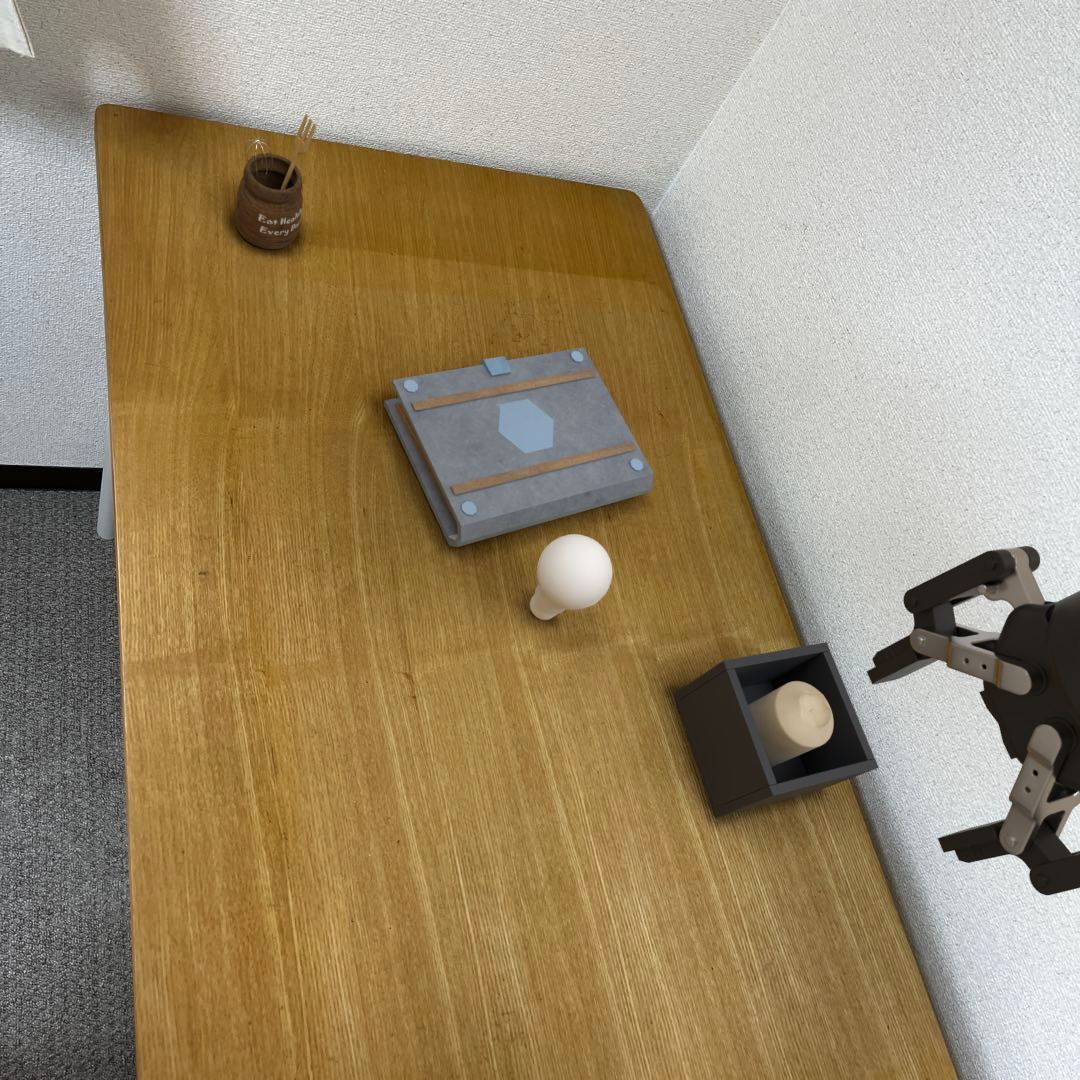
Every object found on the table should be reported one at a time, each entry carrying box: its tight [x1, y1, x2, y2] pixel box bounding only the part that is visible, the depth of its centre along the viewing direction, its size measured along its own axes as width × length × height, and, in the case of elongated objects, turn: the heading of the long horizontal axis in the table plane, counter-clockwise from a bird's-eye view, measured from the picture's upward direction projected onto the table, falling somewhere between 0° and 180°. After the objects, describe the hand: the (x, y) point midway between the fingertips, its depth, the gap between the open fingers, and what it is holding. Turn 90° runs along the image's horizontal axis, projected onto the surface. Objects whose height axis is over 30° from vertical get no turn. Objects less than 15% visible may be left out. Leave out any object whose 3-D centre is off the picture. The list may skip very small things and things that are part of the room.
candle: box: [748, 681, 834, 767], centre depth 76 cm, size 6×6×10 cm
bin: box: [673, 641, 880, 819], centre depth 77 cm, size 11×11×9 cm
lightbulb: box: [529, 533, 613, 621], centre depth 75 cm, size 6×6×11 cm
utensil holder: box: [235, 113, 317, 250], centre depth 83 cm, size 6×6×12 cm
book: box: [383, 347, 655, 548], centre depth 84 cm, size 21×16×5 cm
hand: (915, 756), depth 45 cm, fingers open, 8 cm apart
